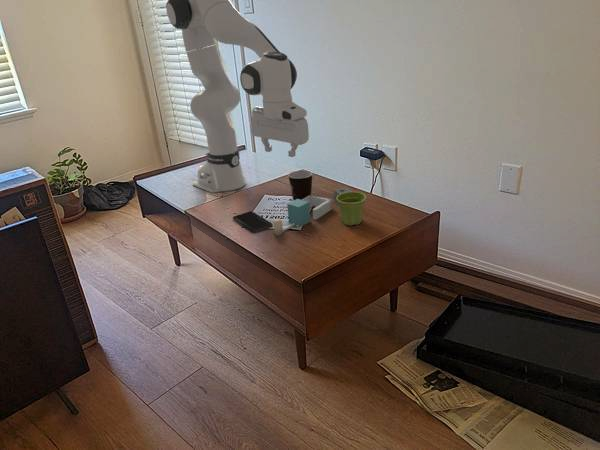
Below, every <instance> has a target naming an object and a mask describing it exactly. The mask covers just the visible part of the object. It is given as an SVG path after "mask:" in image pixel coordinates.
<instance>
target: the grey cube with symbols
mask: <svg viewBox="0 0 600 450" xmlns="http://www.w3.org/2000/svg"><path fill="white" fill-rule="evenodd" d="M345 192H354V191H353V190H351V189H350V188H349V187H340V188H336V189H335V188H334V189H333V203H334V204H335V205H336V206H338V207H339V208H340V206H339V204H338V201H337V199H336V197H337V196H338V195H339V194H342V193H345Z"/></svg>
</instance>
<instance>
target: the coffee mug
mask: <svg viewBox="0 0 600 450" xmlns="http://www.w3.org/2000/svg"><path fill="white" fill-rule="evenodd" d="M288 179H289V186H290V191H291V196H292V201H293V200H296V199H300V200H302V199H304V198H305V197H307V196H309V195H312V190H313V189H312V185H313V172H312V171H310V170H307V169H306V170H305V169H302V170H295V171H291V172H289V173H288Z"/></svg>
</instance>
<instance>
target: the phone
mask: <svg viewBox="0 0 600 450" xmlns="http://www.w3.org/2000/svg"><path fill="white" fill-rule="evenodd" d="M232 220H233V221H235V222H236V223H237V224H239V226H241V227H243V228H244V229H246V230H247V231H248V232H250V233H252V234H256V233H259V232H262V231H265V230H268V229H271V228H273V227H274V226H273V222H271V221H269V220H267V219H266V218H264V217H263V216H261V215H259V214H258V213H256V212H254V211H251V210H250V211H246V212H244V213H240V214H237V215H234V216H233V217H232ZM270 227H271V228H270Z"/></svg>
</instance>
